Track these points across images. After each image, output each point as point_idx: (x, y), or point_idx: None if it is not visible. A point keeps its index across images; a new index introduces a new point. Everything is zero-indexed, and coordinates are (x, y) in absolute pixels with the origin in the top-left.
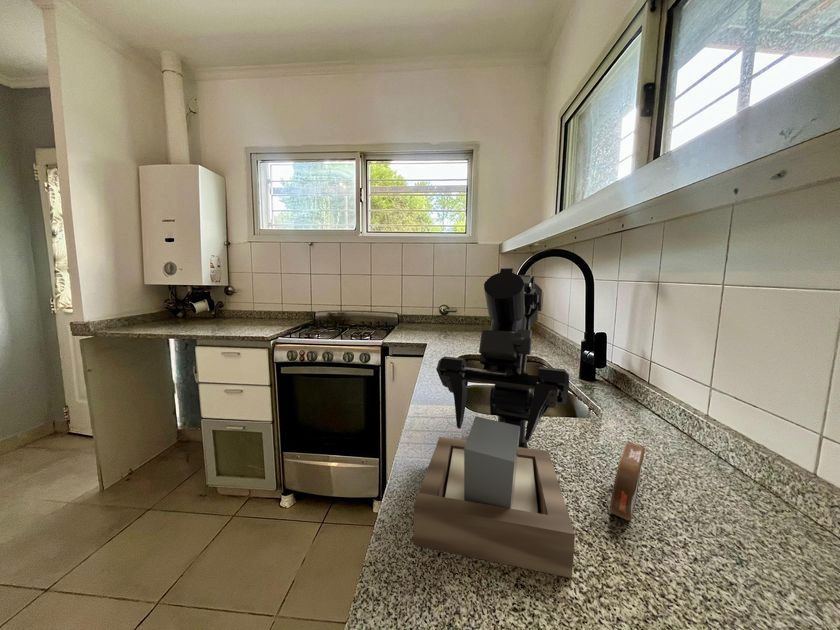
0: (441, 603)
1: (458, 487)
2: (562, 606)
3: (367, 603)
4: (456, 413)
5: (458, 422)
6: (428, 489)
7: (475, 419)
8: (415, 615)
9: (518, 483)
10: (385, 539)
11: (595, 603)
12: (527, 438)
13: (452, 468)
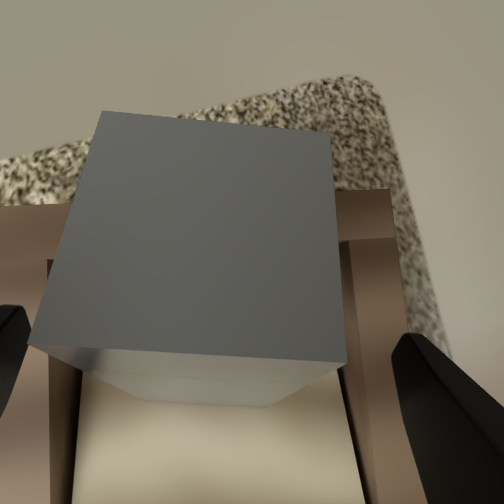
0: (268, 120)
1: None
2: (71, 168)
3: (372, 92)
4: (473, 381)
5: (422, 342)
6: (377, 258)
7: (337, 329)
8: (300, 94)
9: (130, 435)
10: (401, 211)
11: (9, 190)
12: (9, 305)
13: (341, 430)
